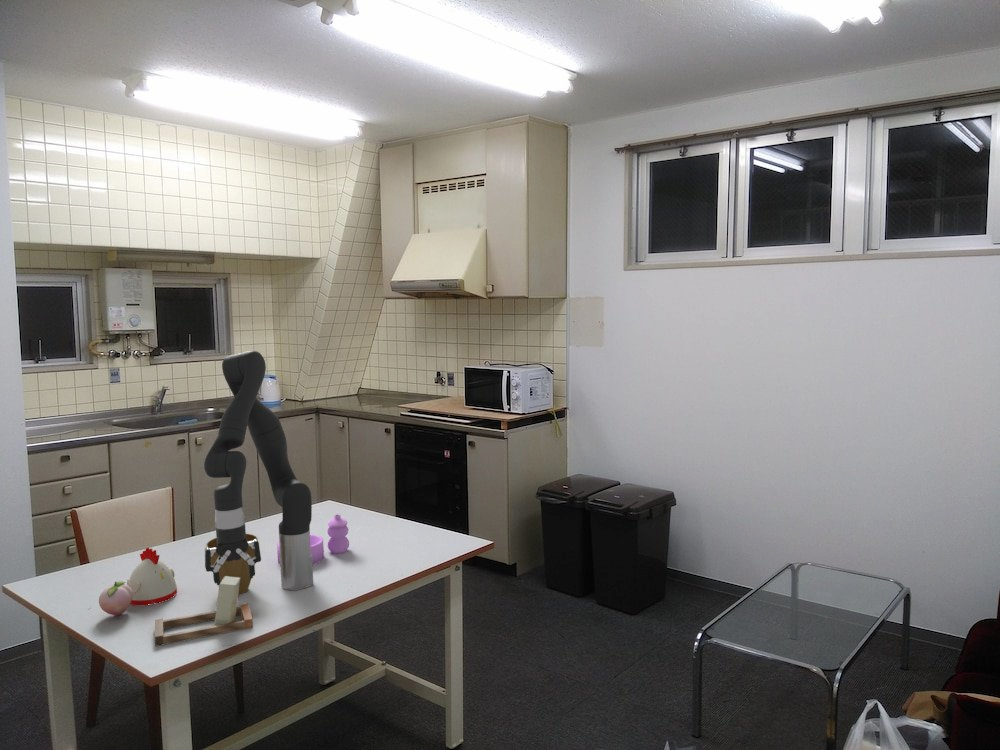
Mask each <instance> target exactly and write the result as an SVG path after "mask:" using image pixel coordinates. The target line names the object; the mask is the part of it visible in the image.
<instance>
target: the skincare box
mask: <svg viewBox="0 0 1000 750" xmlns="http://www.w3.org/2000/svg"><path fill="white" fill-rule="evenodd" d="M239 585H240V578H239V577H229V576H225V577H224V578H223V579H222V581H221V582H220V584H219V585H218V593H217V602H216V610H215V611H216V616H215V620H214V625H213V626H216V625H221V624H227V623H232V622H235V621H236V609H237V607H238V600H239V599H238V598H239V595H238V593H239Z"/></svg>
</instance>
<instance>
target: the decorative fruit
mask: <svg viewBox="0 0 1000 750" xmlns="http://www.w3.org/2000/svg"><path fill="white" fill-rule="evenodd" d="M132 597H133V591H132V589H131V588H130V587H129V586H128V585H127V583H126V582H125V581H122V580H119V581H114V584H111V585H108V586H107V587H106V588H103V590H102V591H101V593H100V594H99V597H98V604H99V607H100V608H101V610H102V611H103V612H105V613H106V614H108V615H112V616H116V617H117V616H121V615H122V614H123V613H125V611H126V610H127V609H128V608H129V606H131V605H130V603H131V600H132Z"/></svg>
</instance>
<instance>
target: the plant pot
mask: <svg viewBox="0 0 1000 750" xmlns="http://www.w3.org/2000/svg"><path fill="white" fill-rule="evenodd" d="M254 539H257V540H258V541H259V538H258V536H257V535H255V534H253V533H246V540H247V542H250V541H253V540H254ZM216 546H217V537H216V536H215V537H214V538H212V539H210V540H208V541H207V542H206V543H205V548H207V547H208V548H216ZM246 553H247V554H248V555H249V556H250V557H251V558H254V557H255V552H254V549H252V548H251V546H248V548H247V550H246ZM218 557H219V555H218V554H217V553H216V552H214V554H213V556H212V557H211V565H212V566H213V565H214V564H215V562H216V560H217V558H218ZM248 564H249V563H248V562H247V561H245V560H244V559H243V558H240V560H232V561H229V562H228V561H225V562H224V563H223V565H222V566H221V567H220V568H219V577H220V582H221V581H222V579H223V578H224V577H225V576H229V577H239V578H240V585H239V593H238V596H241V595H243V594H245V593H247V592H248V590H249V588H250V584H251V582H252V578H251V579H250V577H249V567H248Z"/></svg>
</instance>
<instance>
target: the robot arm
mask: <svg viewBox="0 0 1000 750" xmlns="http://www.w3.org/2000/svg"><path fill="white" fill-rule="evenodd" d="M221 362H222V364H221V369H222V373H223V377H224V379H225V381H226V383H227V386H228V388H229V389H230V391H231V393H232V396H233V397H234V398H233V399H232V401H230V403H229V404H228V405H227V407H226V408H225V411H224V412H223V414H222V417H221V419H220V424H219V429H218V431H217V432H218V433H217V436H216V438H215V440H214V442H213V444H212V445H211V448H210V449H209V450H208V452H207V454H206V456H205V459H204V463H203V465H204V466H203V467H204V472H205V474H206V475H207V477H209V478H213V479H219V478H221V479H223V478H230V482H229V483H227V484H222V485H219V486H217V487H216V488H215V489H214V492H213V498H214V511H215V512H214V524H215V525H214V526H215V535H216V536H215V538H216V537H217V546H216V548H208V547H207V548H206V547H205V548H204V568H205V571H206V572H208V573H209V572H212V575H213V577H212V578H213V582H214V584H216V586H219V584H220V577H219V568H220V567H221V566H222V565H223V563H224V562H225V561H228V562H229V561H232V560H240V558H243V559H244V560H245V561H247V562H248V563H249V564H248V567H249V577H250V579H251V580H252V579H254V577H255V576H256V569H255V568H256V567H255V565H256V564H257V563H259V562H261V561H262V556H261V549H260V542H259V539H258V540H257V539H254V540H253V541H250V542H247V540H246V534H247V531H246V518H245V511H244V507H243V494H242V493H243V492H242V491H243V483H244V478H245V477H244V476H245V473H246V470H247V458H246V456H245V455H244V453H243V452H242V451H240V450H239V451H238V450H234V449H237V448H240V447H241V446H243V444H244V442H245V439H246V433H247V430H248V431H249V435H250V436H251V440H252V441H253V442H252V443H253V444H254V446H255V447H254V448H256V451H257V453H258V456H259V458H260V460H261V463H262V464H263V467H264V468H265V470H266V472H267V477H268V480H269V483H270V487H271V491H272V494H273V495H272V496H273V499H274V500H275V502H276V503H277V504H278V505H279V506H280V507H281V508H282V519H281V521H280V522H279V523H278V540H279V541H278V542H279V545H280V566H279V567H280V583H281V584H280V585H281V588H282V589H284V590H287V591H297V590H302V589H306V588H308V587H311V586H314V571H313V569H314V568H313V567H314V566H313V564H312V555H311V549H310V535H311V533H310V532H311V528H310V526H311V522H312V517H313V516H312V513H313V512H312V508H313V506H312V492H311V489H310V487H309V486H308V484H306V483H305V482H302V481H301V480H300V481H299V480H298V478H297V476H296V475H295V473H294V471H293V469H292V467H291V464H290V462H289V461H290V460H289V457H288V444H287V436H286V434H285V431H284V428H283V426H282V423H281V421H280V419H279V417H278V416H277V414H276V413H275V412H274V411H272V410H271V409H270V408H269V407H268V406H267V405H265V404H264V403H263V402H262V401H261V400H260V399H258V397H257V396H258V394H259V392H260V389H261V386H262V384H263V381H264V378H265V376H266V375H265V374H266V371H267V366H266V360H265V358H264V357H263V355H262V354H261V353H260V352H259V351H257V350H248V351H243V352H240V353H235V354H231V355H227V356H225V357H224V358H223V360H222V361H221ZM247 428H248V429H247ZM248 546H251V548H252V549H254V552H255V557H254V558H251V557H250V556H249V555H248V554H247V553H246V550H247V548H248ZM214 552H216V553H217V554H218V555H219V557H218V558H217V560H216V562H215V564H214V565H213V566H212V565H211V557H212V556H213V554H214Z"/></svg>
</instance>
